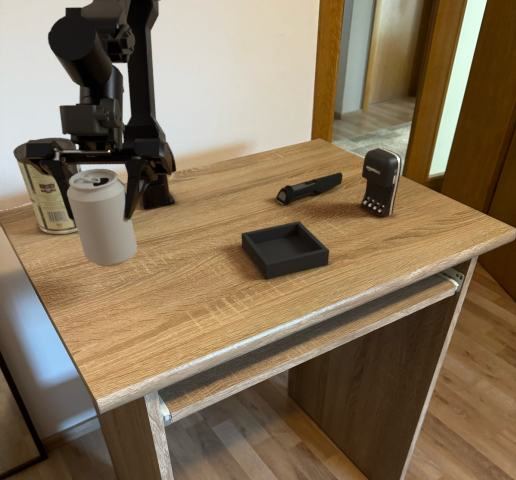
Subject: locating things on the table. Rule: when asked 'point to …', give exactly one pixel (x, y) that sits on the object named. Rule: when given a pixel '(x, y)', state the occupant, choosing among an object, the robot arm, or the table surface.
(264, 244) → the black square open tray
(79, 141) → the robot arm
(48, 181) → the coffee can
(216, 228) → the table surface
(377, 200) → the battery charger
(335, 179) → the electric trimmer
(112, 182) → the can
